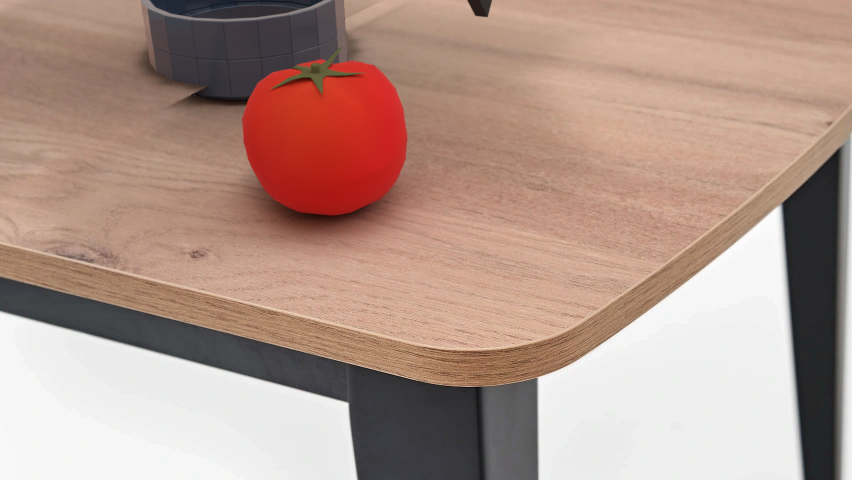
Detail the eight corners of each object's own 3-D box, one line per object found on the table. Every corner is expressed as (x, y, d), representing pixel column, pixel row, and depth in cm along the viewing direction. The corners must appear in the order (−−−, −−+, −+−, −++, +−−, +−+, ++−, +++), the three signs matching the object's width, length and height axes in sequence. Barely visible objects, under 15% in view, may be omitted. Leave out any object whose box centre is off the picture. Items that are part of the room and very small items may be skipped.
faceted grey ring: (112, 85, 87) (98, 4, 84) (234, 30, 98) (226, -44, 95) (271, 118, 81) (263, 32, 79) (383, 56, 92) (379, -22, 89)
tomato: (394, 158, 75) (387, 28, 71) (430, 231, 67) (425, 86, 63) (243, 176, 73) (227, 42, 69) (260, 253, 65) (243, 105, 61)
